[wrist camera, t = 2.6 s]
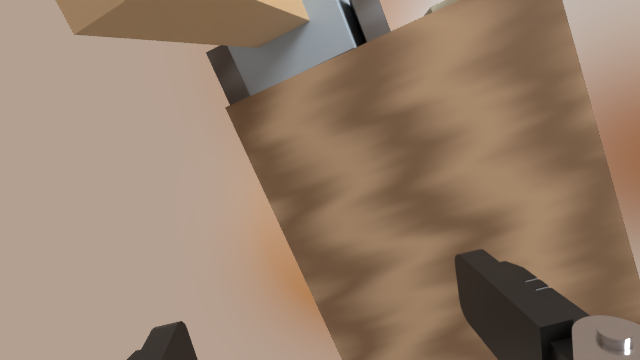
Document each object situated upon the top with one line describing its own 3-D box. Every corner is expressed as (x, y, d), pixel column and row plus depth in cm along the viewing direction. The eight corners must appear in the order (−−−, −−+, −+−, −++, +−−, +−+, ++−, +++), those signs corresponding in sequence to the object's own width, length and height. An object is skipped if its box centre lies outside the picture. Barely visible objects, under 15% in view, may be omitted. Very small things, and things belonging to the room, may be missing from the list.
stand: (434, 558, 25) (199, 51, 18) (420, 456, 31) (244, 60, 25) (706, 520, 21) (530, -116, 15) (625, 416, 28) (480, -54, 22)
